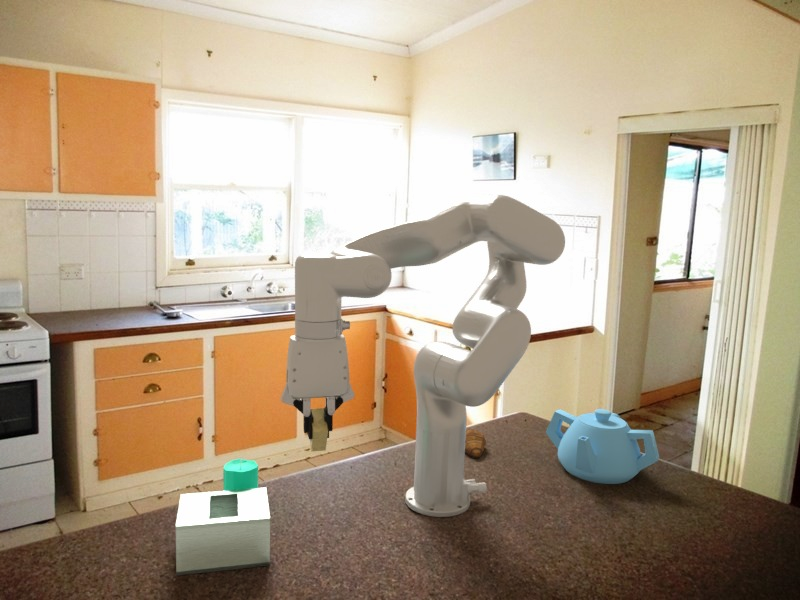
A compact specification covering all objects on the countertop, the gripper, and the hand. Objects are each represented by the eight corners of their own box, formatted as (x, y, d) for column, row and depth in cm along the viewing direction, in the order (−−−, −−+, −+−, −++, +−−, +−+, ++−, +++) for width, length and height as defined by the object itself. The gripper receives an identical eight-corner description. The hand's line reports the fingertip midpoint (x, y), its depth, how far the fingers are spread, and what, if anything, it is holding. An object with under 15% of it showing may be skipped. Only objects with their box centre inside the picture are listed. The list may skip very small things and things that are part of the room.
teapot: (544, 453, 151) (549, 397, 149) (621, 453, 154) (627, 397, 152) (575, 490, 133) (581, 426, 130) (662, 489, 135) (669, 426, 133)
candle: (249, 530, 112) (249, 465, 110) (217, 526, 113) (217, 461, 111) (263, 514, 117) (263, 452, 116) (233, 510, 119) (232, 448, 117)
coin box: (265, 530, 112) (266, 487, 111) (269, 565, 101) (270, 518, 100) (181, 538, 108) (180, 494, 107) (176, 575, 98) (175, 526, 97)
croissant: (491, 461, 147) (493, 440, 146) (462, 460, 146) (463, 440, 145) (479, 439, 160) (480, 419, 159) (452, 438, 159) (453, 419, 159)
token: (322, 427, 112) (324, 408, 109) (325, 450, 108) (328, 431, 105) (308, 428, 111) (310, 408, 108) (311, 451, 107) (313, 432, 104)
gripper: (361, 323, 111) (359, 424, 114) (267, 325, 107) (268, 431, 110) (370, 332, 104) (368, 440, 107) (270, 335, 99) (271, 448, 102)
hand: (318, 435), depth 108 cm, fingers closed on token, 2 cm apart
